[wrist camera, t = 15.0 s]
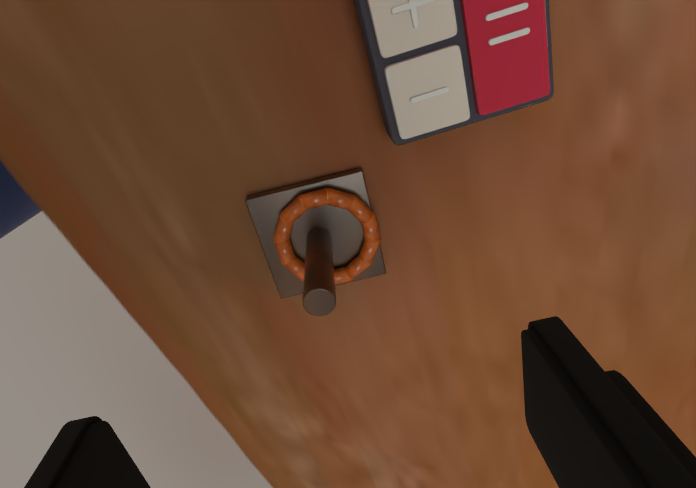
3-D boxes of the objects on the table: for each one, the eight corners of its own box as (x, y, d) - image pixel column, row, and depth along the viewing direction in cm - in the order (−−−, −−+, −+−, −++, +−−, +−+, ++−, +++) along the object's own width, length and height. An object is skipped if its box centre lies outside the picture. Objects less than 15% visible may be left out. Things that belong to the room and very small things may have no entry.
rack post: (281, 292, 38) (270, 374, 29) (246, 195, 34) (221, 256, 25) (384, 267, 38) (405, 343, 29) (361, 167, 34) (376, 218, 25)
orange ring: (292, 289, 37) (291, 297, 36) (261, 201, 33) (259, 207, 32) (387, 267, 36) (389, 274, 35) (366, 176, 33) (367, 181, 32)
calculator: (396, 151, 29) (327, -130, 22) (386, 133, 33) (325, -111, 26) (561, 101, 29) (546, -207, 21) (531, 89, 32) (511, -177, 25)
